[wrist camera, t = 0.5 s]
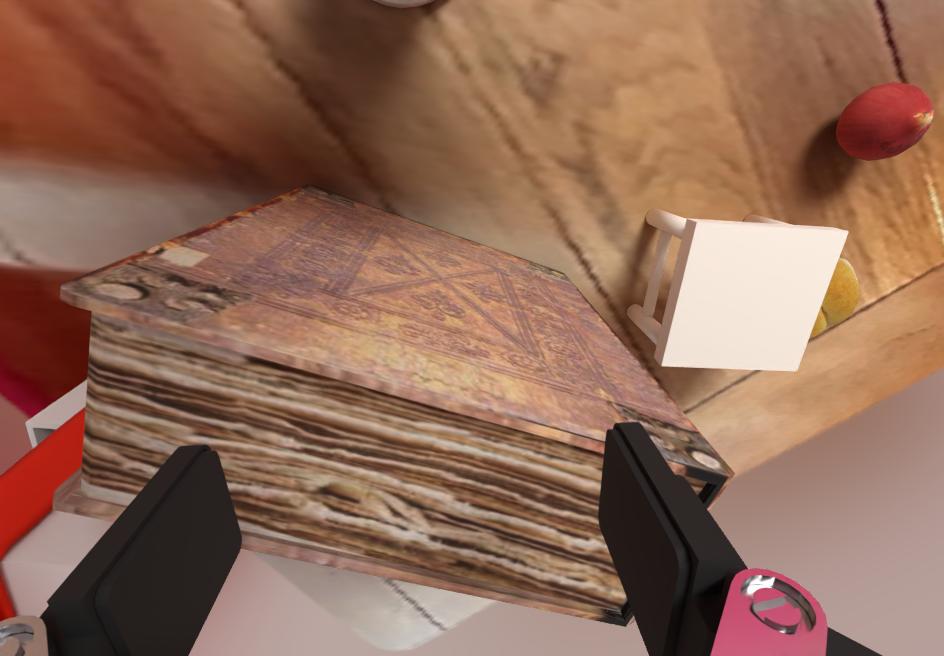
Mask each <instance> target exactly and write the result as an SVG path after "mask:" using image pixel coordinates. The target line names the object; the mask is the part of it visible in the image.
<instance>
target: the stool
mask: <svg viewBox="0 0 944 656" xmlns="http://www.w3.org/2000/svg"><path fill="white" fill-rule="evenodd" d="M646 221H647V223H648V224H649V225H652V226H654V227H656V228H658V229H660V232H659V237H658V241H657V246H656V250H655V255H654V259H653V264H652V269H651V273H650V278H649V282H648V287H647V292H646V296H645V301H644V305H643V308H642V307H641V306H640V305H638V304H633V305H631V306H630V307H629V308H628V309H627V316H628V317H629V318H630V319H631V320H632V321H633V322H634V323H635V324H636V325H637V326H638V327H639V328H640V329H641V330H642V331H643V332H644V333H645V334H646V335H647V336H648V337H649V338H650V339H651V340H652V342H653V343H654V344H655V345H656V350H655V354H654V359H655V360H656V361H657V362H658V363H659V364H660V365H661V366H668V367H695V368H722V369H749V370H776V371H797V369H798V367H799V364H800V361H801V359H802V356H803V353H804V351H805V348H806V345H807V342H808V340H809V337H810V334H811V332H812V329H813V326H814V324H815V321H816V318H817V316H818V313H819V310H820V307H821V305H822V302H823V299H824V297H825V294H826V291H827V289H828V286H829V283H830V281H831V278H832V275H833V272H834V270H835V267H836V264H837V262H838V259H839V256H840V254H841V251H842V248H843V246H844V243H845V240H846V237H847V235H848V232H849V231H845V230H841V229H837V228H833V227H818V226H801V225H791V224H788V223H784V222H780V221H776V220H773V219H769V218H765V217H762V216H758V215H754V214H751V215H748V216H747V217H746V218H745V219H744V221H743V222H735V221H719V220H702V219H685V218H682V217H679V216H677V215H674V214H671V213H668V212H666V211H663V210H660V209H657V208H654V209H651V210H650V211H649V212H648V213H647V215H646ZM661 230H662V231H661ZM672 235H673V236H675V237H678V238H680V239H682V241H681V245H680V249H679V253H678V258H677V262H676V266H675V270H674V274H673V279H672V283H671V287H670V291H669V295H668V300H667V304H666V308H665V312H664V316H663V321H662V325H661V324H660V323H659V322H657V321H656V320H655V319H654V318H653V317H652V316H653V315H654V310H655V306H656V302H657V297H658V293H659V289H660V284H661V280H662V275H663V271H664V267H665V262H666V258H667V254H668V249H669V245H670V240H671V236H672Z"/></svg>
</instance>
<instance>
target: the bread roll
mask: <svg viewBox="0 0 944 656" xmlns="http://www.w3.org/2000/svg"><path fill="white" fill-rule="evenodd" d="M859 297H860V291H859V284H858V280H857V277H856V275H855V272H854V269H853V267H852V266H851V265H850V263H849V262H848V261H847V260H845V259H842V258H839V259H838V262H837V264H836V267H835V270H834V272H833V275H832V278H831V281H830V283H829V286H828V289H827V291H826V294H825V297H824V299H823V302H822V305H821V307H820V310H819V313H818V316H817V318H816V321H815V324H814V326H813V329H812V332H811V334H810V337H809V338H812V337H815V336H817V335H818V334H820V333H821V332H822V331H823V330H824V329H826V328H827V327H829V326H832V325H835V324H837V323H839V322H841V321H844V320H845V319H846V318H847V317H848V316H850V315H851V314H852V313H853V312H854V310H855V309H856V306H857V304H858V302H859Z"/></svg>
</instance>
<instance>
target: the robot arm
mask: <svg viewBox="0 0 944 656" xmlns="http://www.w3.org/2000/svg"><path fill="white" fill-rule="evenodd" d="M373 1H375V2H378V3H381V4H383V5H386V6H392V7H399V8H408V7H418V6H421V5H424V4H428V3H431V2H433V1H435V0H373ZM598 520H599V526H600V529H601V532H602V535H603V537H604V540H605V542H606V545H607V548H608V550H609V553H610V555H611V558H612V561H613V563H614V566H615V568H616V571H617V574H618V576H619V579H620V581H621V584H622V586H623V589H624V592H625V594H626V597H627V599H628V602H629V605H630V607H631V610H632V612H633V615H634V617H635V620H636V622H637V625H638V628H639V630H640V633H641V635H642V638H643V641H644V643H645V646H646V648H647V651H648V654H649V656H882V655H880V654H878V653H876V652H874V651H872V650H871V649H869V648H867V647H865V646H863V645H861V644H859V643H857V642H855V641H853V640H852V639H850V638H848V637H846V636H844V635H842V634H840V633H838V632H836V631H834V630H833V629H831V628H829V627H828V626H827V619H826V615H825V613H824V611H823V609H822V607H821V605H820V604H819V602H818V601H817V600H816V599H815V598H814V597H813V596H812V594H811V593H810V592H809V591H807V590H806V589H805V588H803V587H802V586H801V585H800V584H798V583H797V582H796V581H794V580H792V579H790V578H788V577H786V576H784V575H783V574H780V573H777V572H774V571H771V570H767V569H759V568H752V569H748V568H747V566H746V565H745V564H744V562H743V561H742V559H741V558H740V556H739V555H738V554H737V552H736V551H735V549H734V548H733V546H732V545H731V543H730V542H729V540H728V539H727V537H726V536H725V535H724V533H723V532H722V530H721V529H720V527H719V526H718V524H717V523H716V522H715V520H714V519H713V517H712V516H711V514H710V513H709V511H708V510H707V508H706V507H705V506H704V504H703V503H702V501H701V500H700V498H699V497H698V495H697V494H696V492H695V491H694V490H693V488H692V487H691V485H690V484H689V482H688V481H687V480H686V479H685V478H684V477H683V476H681V475H675V474H674V472H673V471H672V469H671V468H670V466H669V465H668V463H667V462H666V460H665V459H664V457H663V456H662V454H661V453H660V451H659V450H658V448H657V447H656V445H655V444H654V442H653V441H652V439H651V438H650V436H649V435H648V433H647V432H646V430H645V429H644V427H643V426H642V424H641V423H640V422H621V423H615V424H614V426H613V429H608V430H607V431H606V438H605V448H604V458H603V468H602V479H601V489H600V499H599V509H598ZM241 545H242V534H241V530H240V527H239V524H238V520H237V517H236V513H235V510H234V506H233V503H232V499H231V496H230V492H229V489H228V485H227V482H226V478H225V475H224V472H223V468H222V465H221V461H220V458H219V455H218V453H217V451H215V450H211V448H210V447H209V446H208V445H187V446H180V447H178V448H177V449H176V450H175V451H174V452H173V454H172V455H171V456H170V457H169V458H168V459H167V461H166V462H165V463H164V464H163V465H162V466H161V468H160V469H159V470H158V471H157V472H156V474H155V475H154V476H153V477H152V478H151V479H150V481H149V482H148V483H147V484H146V485H145V486H144V488H143V489H142V490H141V491H140V492H139V494H138V495H137V496H136V497H135V498H134V499H133V501H132V502H131V503H130V504H129V505H128V506H127V508H126V509H125V510H124V511H123V512H122V514H121V515H120V516H119V517H118V518H117V519H116V521H115V522H114V523H113V524H112V525H111V526H110V528H109V529H108V530H107V531H106V532H105V533H104V535H103V536H102V537H101V538H100V539H99V541H98V542H97V543H96V544H95V545H94V546H93V548H92V549H91V550H90V551H89V552H88V553H87V555H86V556H85V557H84V558H83V559H82V561H81V562H80V563H79V564H78V565H77V566H76V568H75V569H74V570H73V571H72V572H71V573H70V575H69V576H68V577H67V578H66V579H65V581H64V582H63V583H62V584H61V585H60V586H59V588H58V589H57V590H56V591H55V592H54V593H53V595H52V596H51V597H50V598H49V599H48V601H47V603H48V605H49V606H48V607H47V608H46V610H45V611H44V612H43V613H42V614H41V616H40V617H39V618H38V617H36V616H30V615H22V616H17V617H13V618H9V619H6V620H3V621H1V622H0V656H188V655H189V653H190V651H191V649H192V647H193V645H194V643H195V641H196V639H197V637H198V635H199V633H200V631H201V629H202V627H203V624H204V622H205V621H206V619H207V617H208V615H209V613H210V611H211V609H212V606H213V605H214V602H215V601H216V598H217V596H218V594H219V592H220V590H221V588H222V586H223V584H224V582H225V580H226V578H227V576H228V574H229V572H230V570H231V568H232V566H233V564H234V562H235V560H236V558H237V556H238V554H239V551H240V549H241Z"/></svg>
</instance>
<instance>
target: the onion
mask: <svg viewBox="0 0 944 656" xmlns="http://www.w3.org/2000/svg"><path fill="white" fill-rule="evenodd" d="M932 119H933V107H932V104H931V101H930V99H929V98H928V96H927V95H926V94H925V93H924V92H923V91H922V90H921V89H920V88H919V87H916V86H914V85H909V84H903V83H895V82H893V83H889V84H885V85H880V86H876V87H872V88H870V89H868V90H867V91H865V92H864V93H862V94H861V95H859V96H858V97H856V98H855V99H854V100H853V101H852V102H851V103H850V104H849V105H848V106H847V107H846V108H845V109H844V111H843V113H842V115H841V117H840V118H839V120H838V123H837V129H836V137H837V141H838V144H839V145H840V146H841V147H842V148H843V149H844V151H845V152H846V153H847V154H848V155H850V156H853V157H856V158H859V159H863V160H867V161H869V160H879V159H885V158H890V157H893V156H896V155H898V154H900V153H902V152H904V151H905V150H907V149H908V148H910V147H912V146H913V145H915V144H916V143H917V142H918V141H919V140H920V139H921V138H922V136H923V135H924V134H925V132H926V131H927V130H928V128H929V126H930V124H931V122H932Z"/></svg>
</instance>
